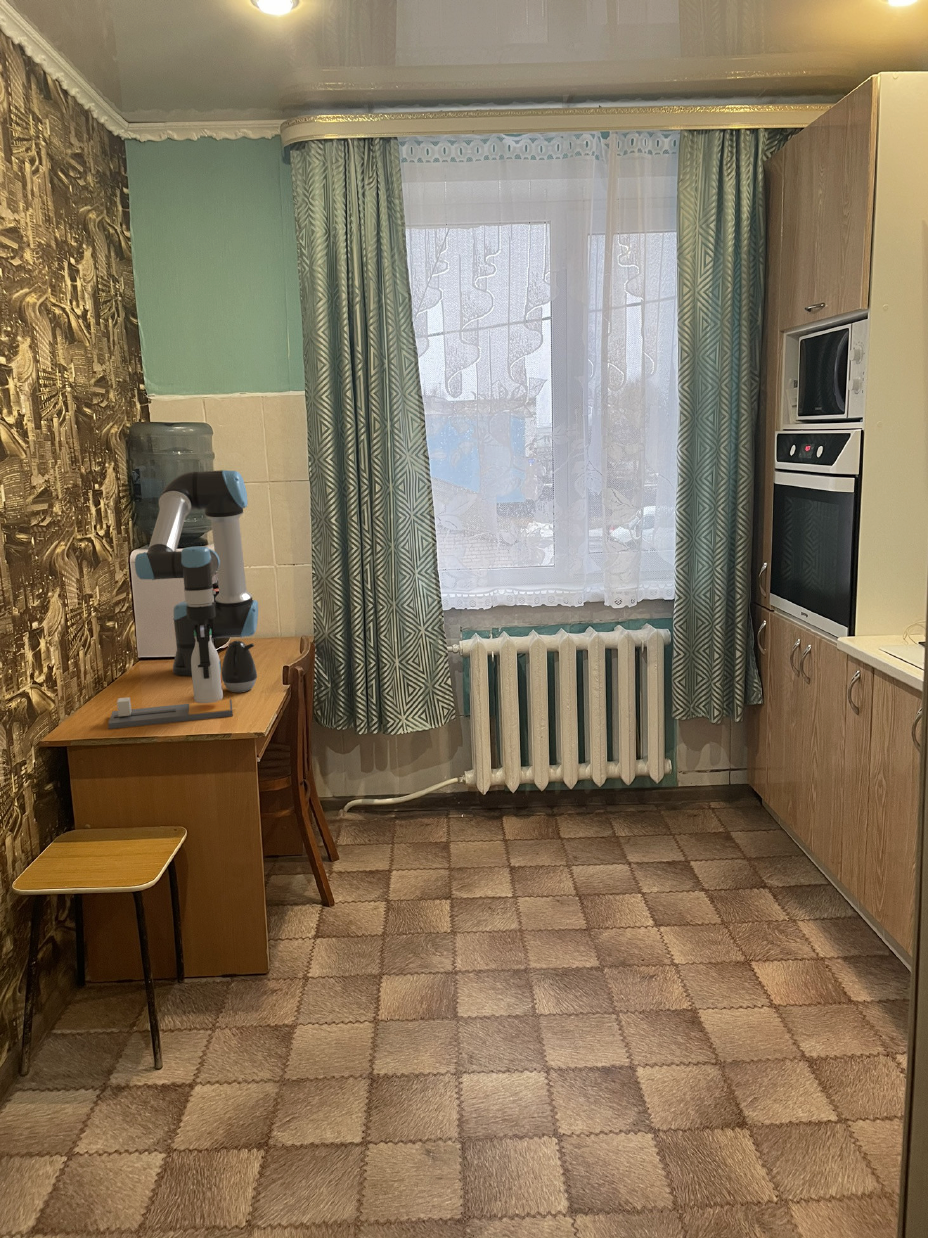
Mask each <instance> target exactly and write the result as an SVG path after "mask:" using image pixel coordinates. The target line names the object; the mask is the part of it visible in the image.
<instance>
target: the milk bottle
mask: <svg viewBox="0 0 928 1238" xmlns="http://www.w3.org/2000/svg"><path fill="white" fill-rule="evenodd" d="M211 634H212V633H211V629H210V632H209V635H210V641H209V642H208V646H209V658H210V664H211V674H212V685H213V689H211V690H202V679H201V668H200V667H198V665H200V653H199V643H198V642H197V637H196V633H195V630H194V636H195V637H194V638H195V640H196V642H195V647H194V650H193V653H192V656H191V670H192V676H191V677H192V679H191V680H192V688H193V689H192V690H193V699H194V700H193V701H194V703H214V702H218V701H220V700H223V698H224V694H223V683H222V682H223V681H222V670H221V669H222V668H221V669H220V662H221V659H220V656H219V654H218V651H217V649H216V647H215V644H214V645H213V643H214V642H213V643H212V641H211V637H212V636H211ZM207 637H208V635H207ZM219 659H220V660H219ZM203 662H205V661H203Z"/></svg>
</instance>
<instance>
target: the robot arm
mask: <svg viewBox="0 0 928 1238" xmlns="http://www.w3.org/2000/svg"><path fill="white" fill-rule="evenodd" d="M248 501H249V500H248V494H247V488H246V485H245V481H244V478H243V476H242V475H241V473H240V472H239V471H237V470H226V469H225V470H224V469H222V470H206V471H190V472H185V473H183V474H180V475H179V476H177V477H175V478H173V479H172V480H171V481H170V482H169V483H168V484H167V485H166V486H165V487H164V489H163V490H162V492H161V494H160V496H159V499H158V507H159V512H158V515H157V518H156V522H155V526H154V529H153V531H152V536H151V538H150V541H149V545H148V548H147V552H146V551H143V552H139V553H137V554H136V556H135V559H134V568H135V574H136V576H137V577H138V579H140V580H152V581H155V580H167V579H168V580H169V579H171V580H172V579H183V585H184V587H183V588H184V589H183V590H184V601H181V602H179V603H177V604H176V605H174V607H173V624H174V625H173V626H174V634H175V635H174V636H175V643H176V652H175V654H174V655H175V656H174V660H173V664H172V670H173V674H174V675H176V676H180V677H181V676H182V677H183V676H184V677H192V670H191V656H192V653H193V650H194V647H195V642H196V640H195V638H194V637H195V636H194V630H195V633H196V637H197V642H198V643H199V653H200V665H198V667H200V668H201V679H202V690H211V689H213V685H212V674H211V664H210V658H209V646H208V642H209V641H210V635H209V632H210V629H211V633H212V634H211V636H212V637H211V641H212V643H213V645H214V646H215V644H214V639H225V638H226V639H230V638H245V637H246V638H247V637H252V636H254V635H255V633H256V631H257V627H258V620H259V619H258V618H259V602H258V600H255V599H253V595H252V593H250V591H248V590H247V582H246V581H247V580H246V573H245V563H244V554H243V544H242V535H241V534H242V533H241V525H240V524H241V523H240V518H241V516H242V515H243V514H244V509H245V508H247V507H248V505H249V504H248ZM195 510H204V514H205V517H206V518H207V519H208V520H210V522H211V531H212V532H211V533H212V539H213V540H212V541H213V548H214V549H211V548H209V547H207V546H202V545H201V546H200V545H199V546H196V545H195V546H187V547H184V548H182V549H181V551H177V550H178V546H179V542H180V538H181V535H182V530H183V527H184V523H185V521H186V520H185V519H186V517H187V516H189V514H190V513H191V511H195ZM214 574H216V575H217V584H218V592H219V593H218V594H217V593H216V590H214V585H213V583H214V582H213V575H214ZM216 594H217V595H216ZM214 595H216V596H214ZM207 635H208V637H207ZM219 660H220V669H222V662H221V659H220V658H219ZM203 661H205V662H203Z"/></svg>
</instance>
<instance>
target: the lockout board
mask: <svg viewBox="0 0 928 1238" xmlns="http://www.w3.org/2000/svg"><path fill="white" fill-rule="evenodd" d="M233 716H234V715H233V701H232V699H229V698H228V699H222V700H220V701H218V702H214V703H197V702H191V703H190V702H188V703H183V704H180V703H179V704H172V705H171V704H169V705H163V706H161V705H160V706H152V707H142V708H140V707H139V708H133V709H132V708H131V715H129V716H118V710H112V712H111V714H110V718H109V720H108V723H107V725H108V729H109V730H111V729H112V730H113V729H121V728H130V727H140V726H149V725H159V724H160V725H161V724H168V723H179V722H188V721H199V720H206V719H216V718H224V717H225V718H226V717H227V718H229V717H233Z"/></svg>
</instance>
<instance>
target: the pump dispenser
mask: <svg viewBox="0 0 928 1238" xmlns="http://www.w3.org/2000/svg"><path fill="white" fill-rule="evenodd" d="M254 646H255V645H254V643H249V644H246V643H245V642H243V641H241V640H234V641H232V642H230V643H229V644H228V646H227V648H226V651H225V652H224V653H225V654H224V657H223V662H222V666H221V669H222V670H221V679H222V682H223V685H224V687H226V689H227V690H228V691H230V692H232V693H246V692H248V691H250V690H251V689H253V688H254V687H255V684H256V681H257V678H258V674H257V667H256V664H255V660H254V658H253V655H252V653H251V651H250V649H252V648H253V647H254Z"/></svg>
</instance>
